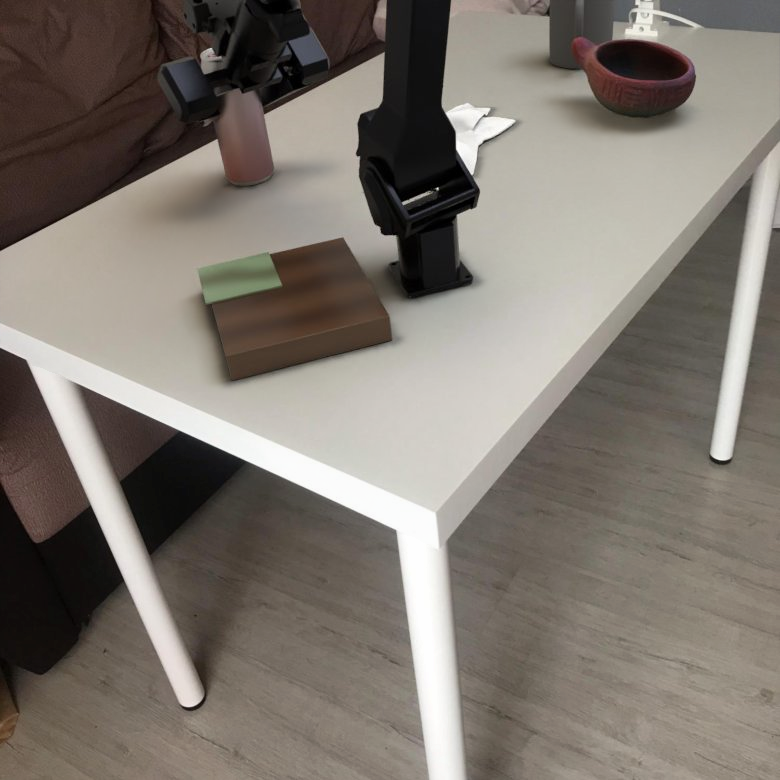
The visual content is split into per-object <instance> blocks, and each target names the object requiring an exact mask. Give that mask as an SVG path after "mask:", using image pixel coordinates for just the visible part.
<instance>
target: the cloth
mask: <svg viewBox="0 0 780 780" xmlns="http://www.w3.org/2000/svg"><path fill="white" fill-rule="evenodd" d="M490 111H491V107H475V106H473V105H472V104H471V103H469V102H467V103H466V102H465V103H463V104H460V105H457V106H455V107H453V108H452V109H449V110H448V111H445V113H446V115H447V117H448V118H449V120H450V122H451V124H452V125H453V127H454V129H455V131H456V150H457V152H458V153H459V155H460V157H461V158H462V160H463V162H464V163H465V165H466V167H467V168H468V170H469V172H470V174H471V175H472V177H473V176H474V172H475V168H476V165H477V160H478V159H477V158H478V150H479V146H481V145H482V144H483V143H484V142H486V141H488V140H491V139H493V138H494V137H496V136H498V135H500V134H502V133H503V132H505V131H506V130H508V129H509V128H510V127H511V126H512V125H514V124H515V123H516V120H515V119H511V118H505V117H498V116H488V115H489V113H490ZM434 190H436V191H438V190H439V189H438V188H435V189H434Z"/></svg>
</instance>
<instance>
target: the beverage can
mask: <svg viewBox="0 0 780 780" xmlns="http://www.w3.org/2000/svg"><path fill="white" fill-rule="evenodd" d="M199 57H200V59H201V61H200V68H201V70H202V71H203V73H204V74H208V73H211V72H214V71H218V70H221V69H223V66H222V61H223V59H222V57H221V56H220V57H217V56H216V55H215V53H214V51H213V49H212V47H209V48H207V49H205V50H204V51H202V52H201V53H200V56H199ZM260 93H261V89H257V90H254V91H251V92H247V93H244V94H242V93H241V91H240V89H239V90H236V91H233V92H230V93H227V94H223V95H220V96H217V97H216V100H217V104H218V107H217V109H218V111H219V112H220V115H219V116H218V117H217V118H216V119H215V120H213V121H212V122H213V126H214V131H215V135H216V140H217V143H218V148H219V153H220V157H221V162H222V165H223V170H224V174H225V178H226V179H227V180H228V181H229V182H230V183H231V184H232V185H235V186H239V187H240V186H241V187H246V186H247V187H249V186H256V185H259V184H263V183H265V182H266V181H267V180H269V179H271V177H272V176H273V173H274V170H275V165H274V160H273V159H274V158H273V154H272V149H271V143H270V138H269V134H268V128H267V123H266V118H265V117H266V116H265V113H264V107H263V106H262V101H261V96H260Z"/></svg>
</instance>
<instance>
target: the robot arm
mask: <svg viewBox="0 0 780 780" xmlns="http://www.w3.org/2000/svg"><path fill="white" fill-rule="evenodd" d="M385 3H386V7H385V11H386V12H385V29H384V30H385V34H384V56H383V57H384V58H383V59H384V60H383V82H382V100H381V102H380V104H379V106H378V107H375V108H373V109H369V110H367V111H363V112H361V113H360V114H359V117H358V120H357V123H356V125H357V137H358V141H357V149H356V152H355V156H356V157H359V164H358V166H359V167H358V179H359V181H360V184H361V187H362V188H361V189H362V192H363V194H364V197H365V199H366V204H367V207H368V209H369V213H370V216H371V218H372V221H373V224H374V225H375V226H377V227H379V230H380V231H379V232H380V234H381V235H382V236H393V237H394V236H395V239H396V248H397V249H396V250H397V258H398V260H394V261H391V262H389V263H388V268H389V271H390V272H391V274H392V275H393V277H394V279H395V280H396V282H397V283H398V285H399V286H400V288H401V289H402V291H403V292H404V294H405V295H406V297H408V298H415V297H418V296H422V295H426V294H430V293H431V294H432V293H435V292H439V291H443V290H447V289H451V288H456V287H459V286H464V285H467V284H471V283H473V282H474V275H473V274H472V273H471V272H470V270H469V269H468V267H466V265H465V264H464V263H463V261H462V260H461V259H460V245H459V243H460V242H459V230H458V229H459V226H458V215H460V214H463V213H465V212H467V211H469V210H473V209H476V208H477V207H478V203H479V199H480V194H481V189H480V187H479V186H478V184H477V182H476V180H475V178H474V177H473V176H472V175H471V174H470V172H469V170H468V168H467V167H466V165H465V163H464V162H463V160H462V158H461V157H460V155H459V153H458V152H457V150H456V131H455V129H454V127H453V125H452V124H451V122H450V120H449V118H448V117H447V115H446V111H445V110H444V108H443V92H444V91H443V90H444V80H445V70H446V60H447V59H446V58H447V50H448V38H449V28H450V26H449V25H450V19H451V18H450V17H451V8H452V7H451V6H452V0H386V2H385ZM182 11H183V12H182V14H183V21H184V23H185V24H186V26H187V27H188V28H189V30H190V31H191V32H192V33H193V34H194V35H199V34H200V35H201V34H203V33H205V34H208V36H210V37H211V39H212V45H211V48H212V49H213V51H214V53H215V55H216V56H217V57H220V56H221V57H222V59H223V61H222V66H223V69H221V70H218V71H214V72H211V73H208V74H204V73H203V71H202V69H201V65H200V64H199V63H198V60H197V58H195V57H193V56H186V57H183V58H178V59H176V60H172V61H169V62H165V63H162V64H160V68H159V70H158V73H157V83H158V84H159V86H160V88H161V90H162V92H163V93H164V95H165V97H166V99H167V101H168V102H169V104H170V106H171V108H172V110H173V111H174V114H175V115H176V117H177V118H178V120H179V122H182V123H184V124H187V125H189V124H192V123H195V122H197V123H200V125H201V127H202V128H206V127H207V126H209V125H210V124H211V123H212V122H213V120H215V119H216V118H217V117H218V116H219V115H220V112H219V111H218V109H217V107H218V104H217V100H216V97H217V96H220V95H223V94H227V93H230V92H233V91H236V90H239V89H240V91H241V93H242V94H244V93H247V92H251V91H254V90H257V89H259V90H260V96H261V101H262V106H263V108H265V107H268V106H270V105H272V104H274V103H276V102H278V101H280V100H282V99H284V98H286V97H289V96H290V95H292V94H294V93H297V92H298V91H301V90H303V89H305V88H307V87H311V85H312V84H314V83H318V82H321V81H323V80H325V79H326V77H327V75H328V73H329V70H330V68H331V63H330V57H329V55H328V54H327V52H326V51H325V49H324V47H323V45H322V43H321V42H320V40H319V38H318V37H317V35H316V33H315V31H314V29H313V28H312V27H311V26H310V25H309V22H308V20H307V19H306V16H305V15H304V13H303V10H302V7H301V1H300V0H185V2H184V5H183V9H182ZM435 188H438V189H439V190H438V191H437V190H436V189H435ZM433 190H436V191H433ZM430 191H433V192H431V193H429V194H426V193H428V192H430ZM423 194H426V195H424V196H422V197H419V196H421V195H423ZM417 197H419V198H417ZM414 198H417V199H414ZM412 199H414V200H412ZM409 200H412V201H409ZM406 201H409V202H407V203H405V202H406ZM403 203H405V204H403Z"/></svg>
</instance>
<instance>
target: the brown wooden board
mask: <svg viewBox="0 0 780 780" xmlns="http://www.w3.org/2000/svg"><path fill="white" fill-rule="evenodd" d="M196 270H197V276H198V278H199V283H200V286H201V291H202V294H203V299H204V302H205V306H207V305H211V306H212V310H213V314H214V318H215V322H216V325H217V330H218V333H219V337H220V340H221V341H220V342H221V344H222V348H223V352H224V356H225V359H226V363H227V367H228V371H229V375H230V379H231V381H235V380H239V379H244V378H248V377H252V376H256V375H261V374H265V373H267V372H271V371H276V370H280V369H284V368H287V367H291V366H295V365H300V364H303V363H307V362H312V361H315V360H319V359H323V358H326V357H327V358H328V357H330V356H335V355H338V354H339V355H340V354H343V353H347V352H352V351H355V350H359V349H363V348H367V347H370V346H374V345H379V344H382V343H388V342H391V341H392V340H393V333H392V326H391V325H392V323H391V317H390V314H389V313H388V311H387V309H386V307H385V305H384V304H383V302H382V301H381V299H380V297H379V296H378V294H377V292H376V290H375V289H374V287H373V285H372V284H371V281H369V279H368V277H367V275H366V273H365V271H364V270H363V268H362V267H361V265H360V263H359V261H358V260H357V258H356V256H355V255H354V254H353V252H352V250H351V248H350V246H349V245H348V242H347V241H346V239H345V238H344V236H343V237H338V238H334V239H329V240H324V241H320V242H315V243H312V244H307V245H303V246H299V247H294V248H290V249H286V250H282V251H276V252H272V253H270V252H269V251H267V252H263V253H258V254H254V255H250V256H249V255H248V256H245V257H241V258H236V259H232V260H228V261H223V262H219V263H214V264H210V265H206V266H201V267H198V268H196Z"/></svg>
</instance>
